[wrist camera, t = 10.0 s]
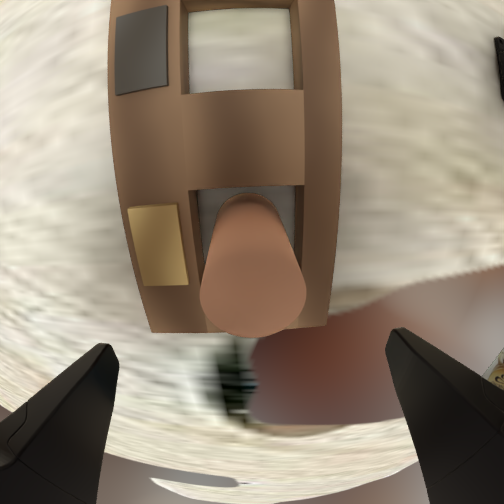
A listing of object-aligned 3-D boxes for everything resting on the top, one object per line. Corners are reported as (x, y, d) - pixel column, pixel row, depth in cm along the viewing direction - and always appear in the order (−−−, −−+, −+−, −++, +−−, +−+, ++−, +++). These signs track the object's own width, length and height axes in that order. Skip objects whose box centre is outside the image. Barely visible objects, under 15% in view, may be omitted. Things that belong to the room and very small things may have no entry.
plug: (279, 191, 17) (309, 247, 10) (279, 251, 18) (302, 334, 11) (213, 194, 17) (192, 253, 9) (218, 254, 18) (207, 339, 11)
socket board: (316, -28, 10) (328, -48, 7) (317, 304, 20) (327, 329, 18) (129, -14, 10) (112, -31, 7) (159, 311, 20) (150, 336, 18)
